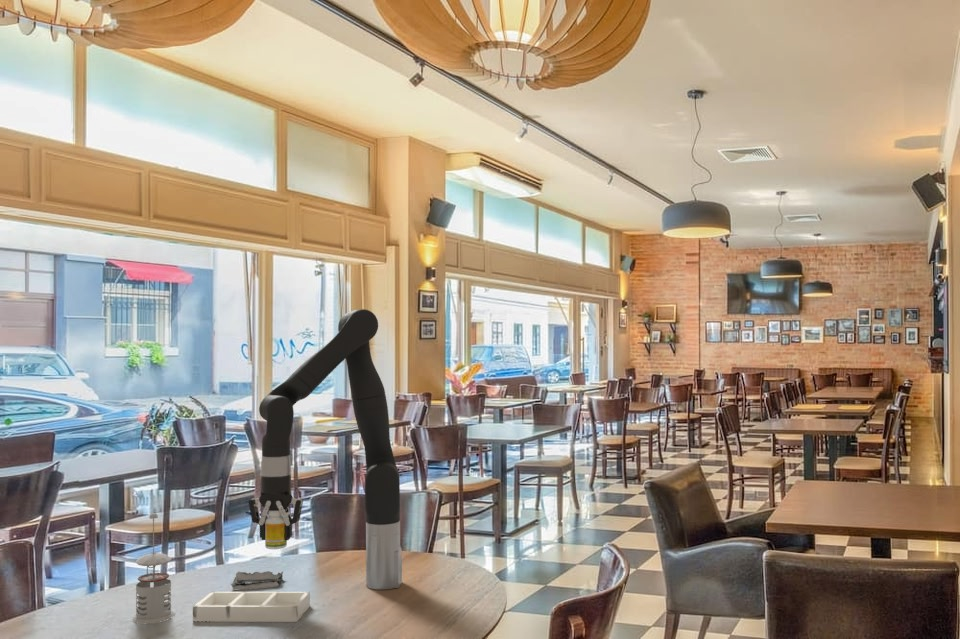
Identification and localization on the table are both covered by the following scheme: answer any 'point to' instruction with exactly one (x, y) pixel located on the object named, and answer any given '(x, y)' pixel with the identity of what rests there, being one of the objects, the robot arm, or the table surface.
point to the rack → (251, 607)
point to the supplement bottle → (275, 531)
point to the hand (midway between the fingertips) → (275, 539)
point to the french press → (153, 589)
